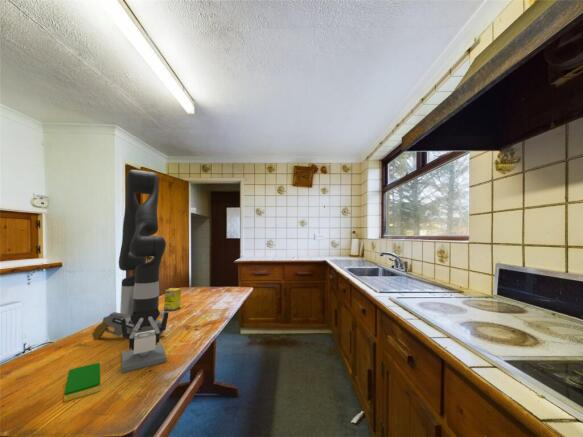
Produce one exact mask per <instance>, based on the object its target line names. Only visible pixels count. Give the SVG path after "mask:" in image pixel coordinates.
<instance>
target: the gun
mask: <svg viewBox="0 0 583 437" xmlns="http://www.w3.org/2000/svg"><path fill="white" fill-rule="evenodd" d="M130 316H131V315H127V314H122V313H120V312H115V311H114V312H111V313H110V314H109V315H107V316H104V317H103V318H102V319H103V320H102V322H101V323H100V324H98V325H97V326H96V327H95V329H94V330H93V333H92V338H93V339H94V340H98V341H99V340H100V339H101V338H102V337H103V335H104V334H105V333H106V332H107V333H109V334H112V335H114V336H117V337H120V336H121V335H123V334H122V327H121V318H123V317H125V318H126V317H130ZM155 322H156V324H157V326H158V328H159V327H161V324H162V320H159V319H156V321H155ZM126 326H127V332H131V330H132V328H133V326H134V323H133V321H132V320H130V321H129V323H128V324H127V325H126ZM109 327H110V328H113V330H114V331H113V330H110V329H109ZM152 330H154V329H153V327H152V325H151V326H145V327H142V328H140V327H139V329H138V331H137V332H136V333H140V332H146V331H152ZM154 331H155V330H154ZM163 333H164V331H161V332H160V334H159V336H161V335H163Z"/></svg>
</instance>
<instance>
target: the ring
mask: <svg viewBox="0 0 583 437" xmlns="http://www.w3.org/2000/svg"><path fill="white" fill-rule="evenodd" d="M144 334H149V335H150V336H148V337H142V338H140V336H141V335H144ZM155 346H156V334H155V331H154V330H152V331H146V332H140V333H136V334H135V336H134V354H138V353H142V352H147V351H152V350H155Z"/></svg>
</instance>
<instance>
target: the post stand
mask: <svg viewBox="0 0 583 437" xmlns="http://www.w3.org/2000/svg"><path fill="white" fill-rule="evenodd" d="M148 336H150V335H149V334H144V335H141V336H140V338H142V337H148ZM166 362H167V355H166V352H165V347H164V344H163V343H157V345H156V346H155V350H152V351H147V352H142V353H138V354H134V350H132V349H130V350H129V349H128V350H124V351H122V355H121V373H122V374H123V373H126V372H127V373H128V372H131V371H135V370H137V369H138V370H139V369H143V368H147V367H151V366H155V365H158V364H162V363H166Z"/></svg>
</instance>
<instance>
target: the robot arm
mask: <svg viewBox="0 0 583 437" xmlns="http://www.w3.org/2000/svg"><path fill="white" fill-rule="evenodd" d="M159 180H160V179H159V176H158V174H157V173H156V172H152V171H148V170H147V171H146V170H139V169H130V170H129V171H128V172H127V174H126V181H125V182H126V185H125V208H124V214H123V222H122V237H121V238H122V240H121V247H120V252H119V258H118V268H119V269H120V271H123V272H124V271H126V272H127V271H128V272H129V271H135V272H134V273H133V274H132V275H130V276H127V277H124V278H123V279H122V280H121V288H120V308H119V310H120V311H119V313H122V314H127V315H131V316H130V317H126V318H125V317H123V318H121V327H122V334H121V335H122V338H124V339H125V338H126V339H129V342H128V348H129V349H130V350H134V336H135V334H136V332H137V331H138V329H139V327H140V328H142V327H145V326H151V325H152V327H153V329H154V330H155V334H156V345H157V344H160V335H161V334H160V332H161V331H163V332H164V331H165V330H166V328H167V324H168V318H169V311H168V310H163V311H160V309H159V308H160V307H159V303H160V301H159V300H160V282H159V280H160V267H161V262H162V258H163V256H164V254H165V251H166V248H167V242H166V240H165V238H164V237H163V236H162V235H161V236H160V235H155V234H157V233H158V231H159V221H158V204H159V190H160V182H159ZM136 194H139V195H140V194H141V195H142V194H143V195H148V197H147V198H146V200H144V201H143V203H142V204H140V203H139V201H138V199H137V196H136ZM147 257H152V259H151V260H150V261H148V262H147ZM159 317H160V318H161V321H162V324H161V327H159V328H158V326H157V324H156V322H155V321H156V320H158V319H159ZM130 320H132V321H133V323H134V326H133V328H132V330H131V332H127V326H126V325H127V324H128V323H129V321H130ZM159 334H160V335H159Z"/></svg>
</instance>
